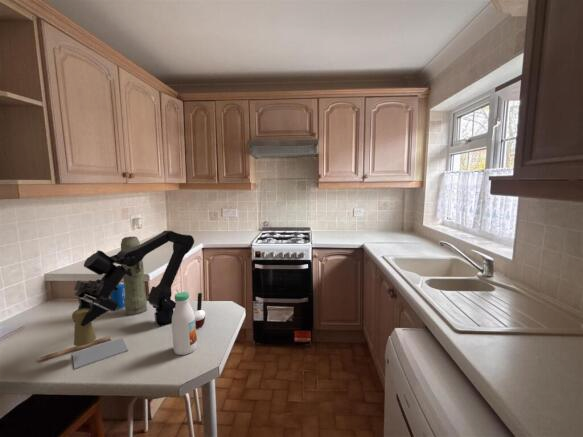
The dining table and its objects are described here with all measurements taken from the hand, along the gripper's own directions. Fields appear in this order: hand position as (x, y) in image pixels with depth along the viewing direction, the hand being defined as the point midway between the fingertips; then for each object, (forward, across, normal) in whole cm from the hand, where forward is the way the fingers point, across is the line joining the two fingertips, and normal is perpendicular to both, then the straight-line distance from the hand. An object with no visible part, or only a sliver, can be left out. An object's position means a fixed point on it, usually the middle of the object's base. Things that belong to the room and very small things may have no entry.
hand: (78, 323), depth 93 cm
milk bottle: (-6, +26, +24) cm, 36 cm away
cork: (+4, 0, +6) cm, 7 cm away
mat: (+5, +1, +12) cm, 14 cm away
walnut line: (+8, -9, +10) cm, 16 cm away
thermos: (-12, -22, +31) cm, 40 cm away
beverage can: (-11, -34, +30) cm, 47 cm away
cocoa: (-15, +15, +34) cm, 40 cm away
